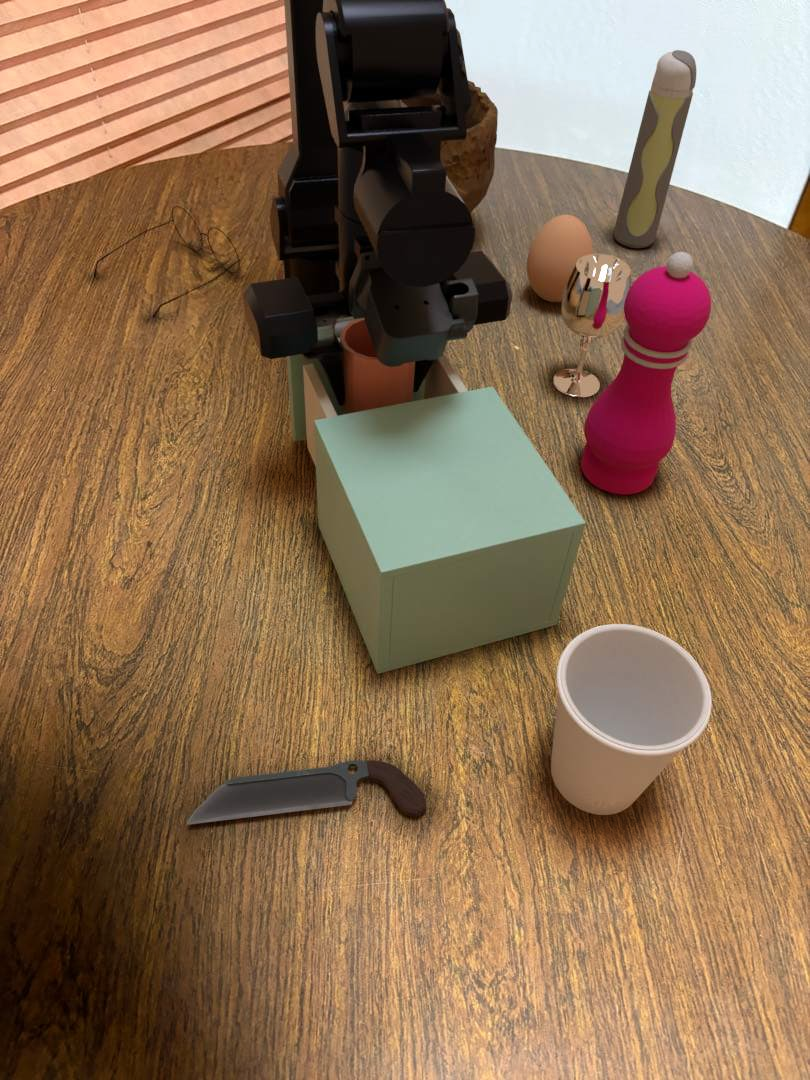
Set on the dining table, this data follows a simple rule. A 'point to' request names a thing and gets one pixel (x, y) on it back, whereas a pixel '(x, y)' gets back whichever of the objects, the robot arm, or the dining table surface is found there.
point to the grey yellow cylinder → (656, 150)
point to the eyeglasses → (188, 246)
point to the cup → (371, 373)
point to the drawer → (318, 400)
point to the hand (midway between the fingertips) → (376, 396)
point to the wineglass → (592, 313)
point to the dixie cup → (623, 714)
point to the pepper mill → (645, 378)
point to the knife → (306, 791)
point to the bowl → (469, 147)
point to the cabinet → (442, 525)
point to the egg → (556, 255)
